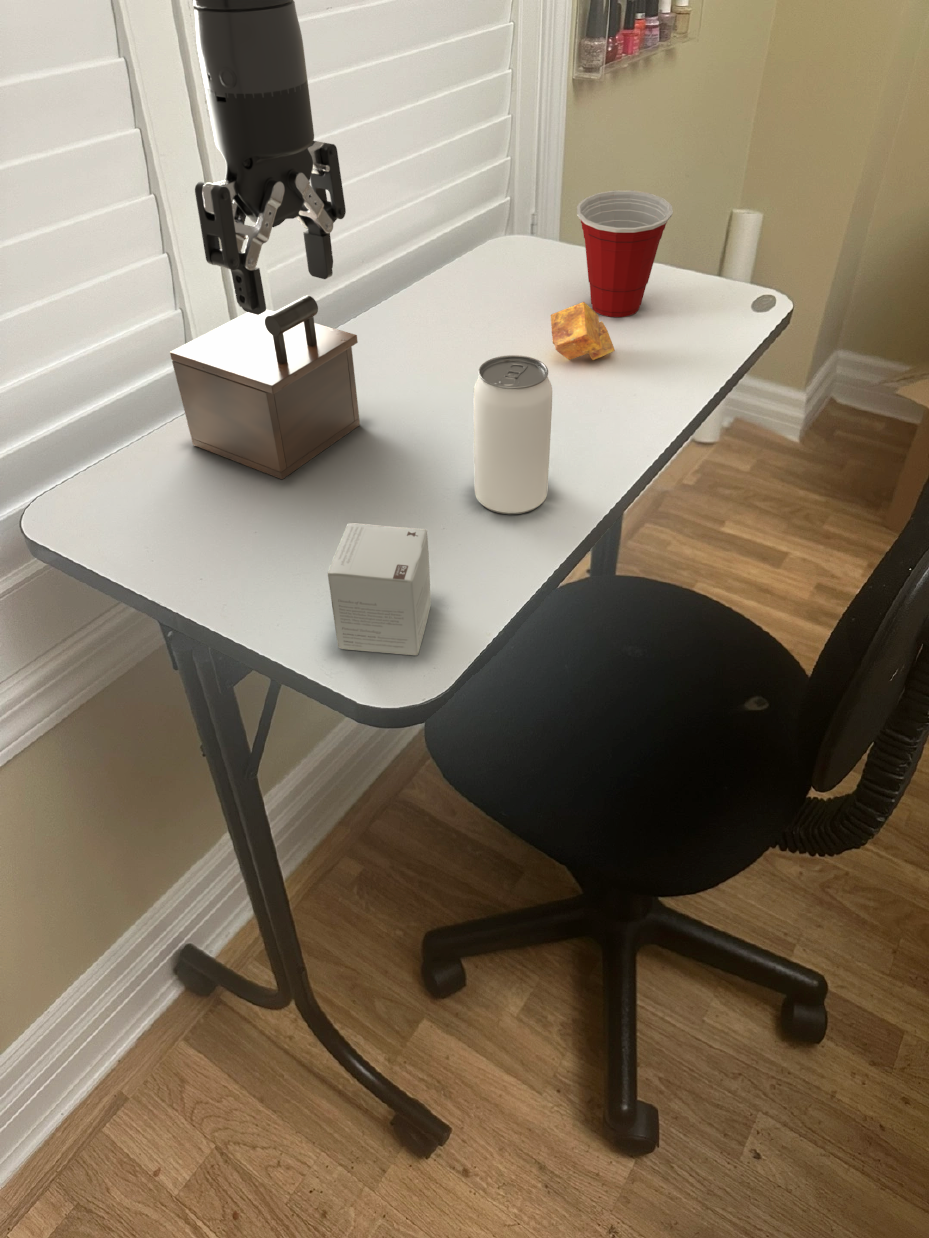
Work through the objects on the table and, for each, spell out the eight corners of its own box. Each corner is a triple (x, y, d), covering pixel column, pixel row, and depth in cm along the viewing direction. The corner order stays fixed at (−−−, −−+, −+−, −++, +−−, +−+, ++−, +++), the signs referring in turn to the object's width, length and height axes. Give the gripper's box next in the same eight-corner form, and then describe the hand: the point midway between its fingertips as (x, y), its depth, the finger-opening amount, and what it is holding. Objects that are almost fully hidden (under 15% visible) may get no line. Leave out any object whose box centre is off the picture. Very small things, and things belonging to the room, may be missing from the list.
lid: (358, 343, 84) (352, 287, 81) (273, 394, 77) (263, 336, 73) (259, 314, 89) (249, 261, 86) (171, 360, 82) (157, 304, 79)
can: (464, 508, 79) (461, 383, 71) (488, 470, 84) (488, 348, 76) (535, 522, 77) (540, 395, 69) (555, 483, 82) (563, 359, 74)
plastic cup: (561, 322, 107) (567, 217, 99) (579, 287, 115) (586, 187, 107) (653, 332, 105) (666, 225, 97) (665, 295, 113) (679, 193, 104)
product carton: (356, 597, 71) (346, 520, 66) (432, 603, 70) (428, 526, 65) (337, 651, 66) (325, 572, 61) (419, 658, 65) (413, 579, 60)
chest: (360, 425, 90) (351, 341, 84) (282, 479, 83) (266, 392, 77) (273, 395, 95) (259, 315, 89) (192, 445, 88) (171, 360, 82)
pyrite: (578, 341, 103) (581, 373, 102) (550, 313, 98) (551, 347, 97) (618, 325, 101) (621, 358, 100) (591, 296, 95) (593, 331, 94)
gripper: (282, 54, 72) (309, 258, 83) (146, 91, 64) (196, 314, 74) (355, 63, 69) (374, 274, 80) (223, 104, 60) (264, 335, 71)
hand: (288, 293), depth 77 cm, fingers open, 8 cm apart
